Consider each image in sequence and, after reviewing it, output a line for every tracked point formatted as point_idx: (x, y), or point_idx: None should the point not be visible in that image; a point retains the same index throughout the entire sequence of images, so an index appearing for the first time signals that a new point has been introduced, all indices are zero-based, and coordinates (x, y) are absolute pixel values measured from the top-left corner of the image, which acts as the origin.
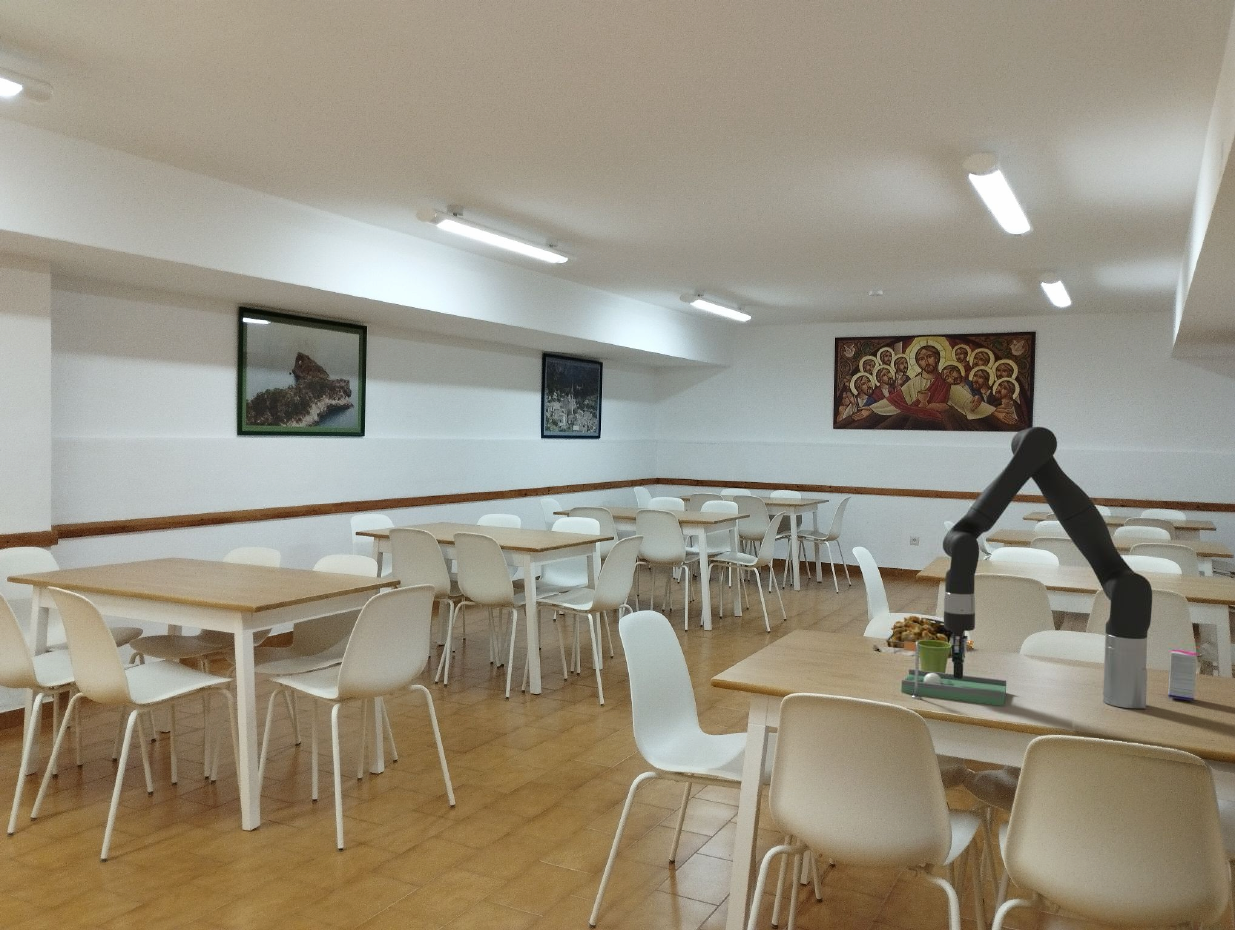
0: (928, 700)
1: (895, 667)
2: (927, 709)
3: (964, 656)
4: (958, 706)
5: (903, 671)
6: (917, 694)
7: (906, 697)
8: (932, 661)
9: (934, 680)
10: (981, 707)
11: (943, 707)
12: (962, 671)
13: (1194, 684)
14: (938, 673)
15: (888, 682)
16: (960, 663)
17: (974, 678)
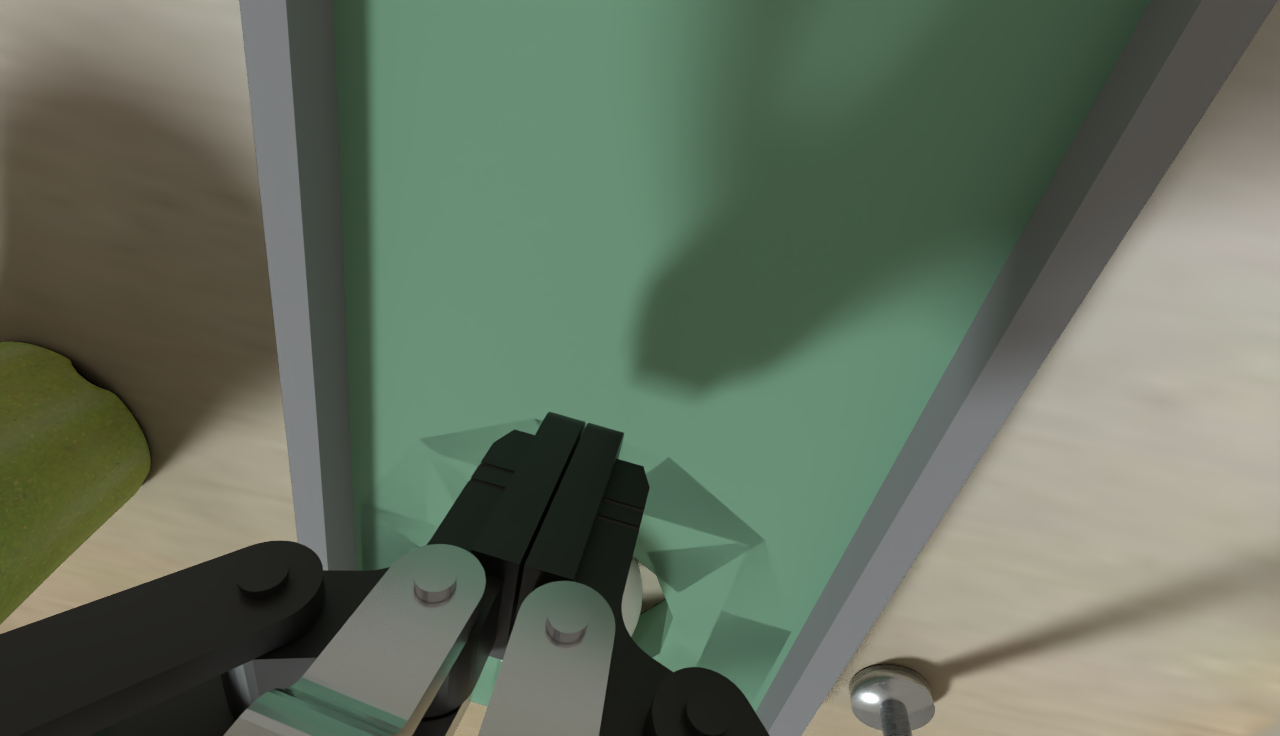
0: (939, 632)
1: (55, 595)
2: (1254, 704)
3: (272, 591)
4: (1168, 464)
5: (124, 579)
6: (908, 719)
7: (863, 727)
8: (26, 548)
9: (627, 622)
10: (1242, 234)
11: (1196, 589)
12: (600, 492)
13: None
14: (328, 532)
15: (476, 715)
16: (647, 657)
17: (309, 187)
